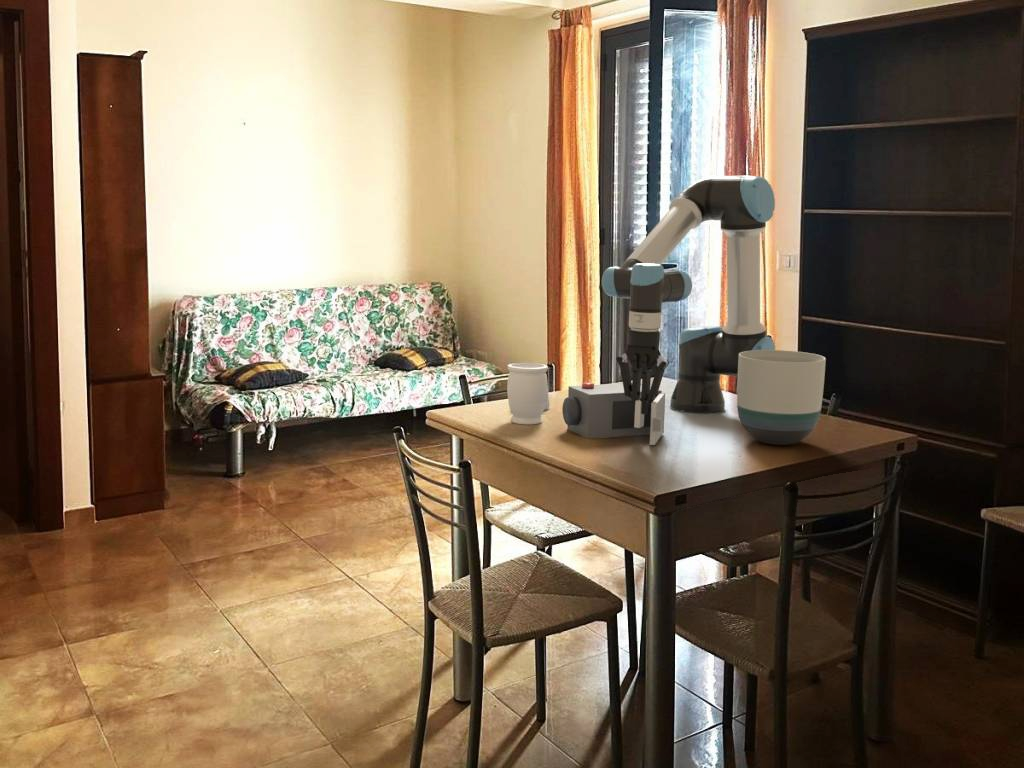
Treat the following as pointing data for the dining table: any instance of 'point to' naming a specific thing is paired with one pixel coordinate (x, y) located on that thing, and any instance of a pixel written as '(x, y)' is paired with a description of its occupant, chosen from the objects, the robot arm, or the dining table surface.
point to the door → (657, 418)
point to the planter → (779, 394)
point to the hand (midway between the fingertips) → (638, 426)
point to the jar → (527, 392)
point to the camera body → (602, 411)
